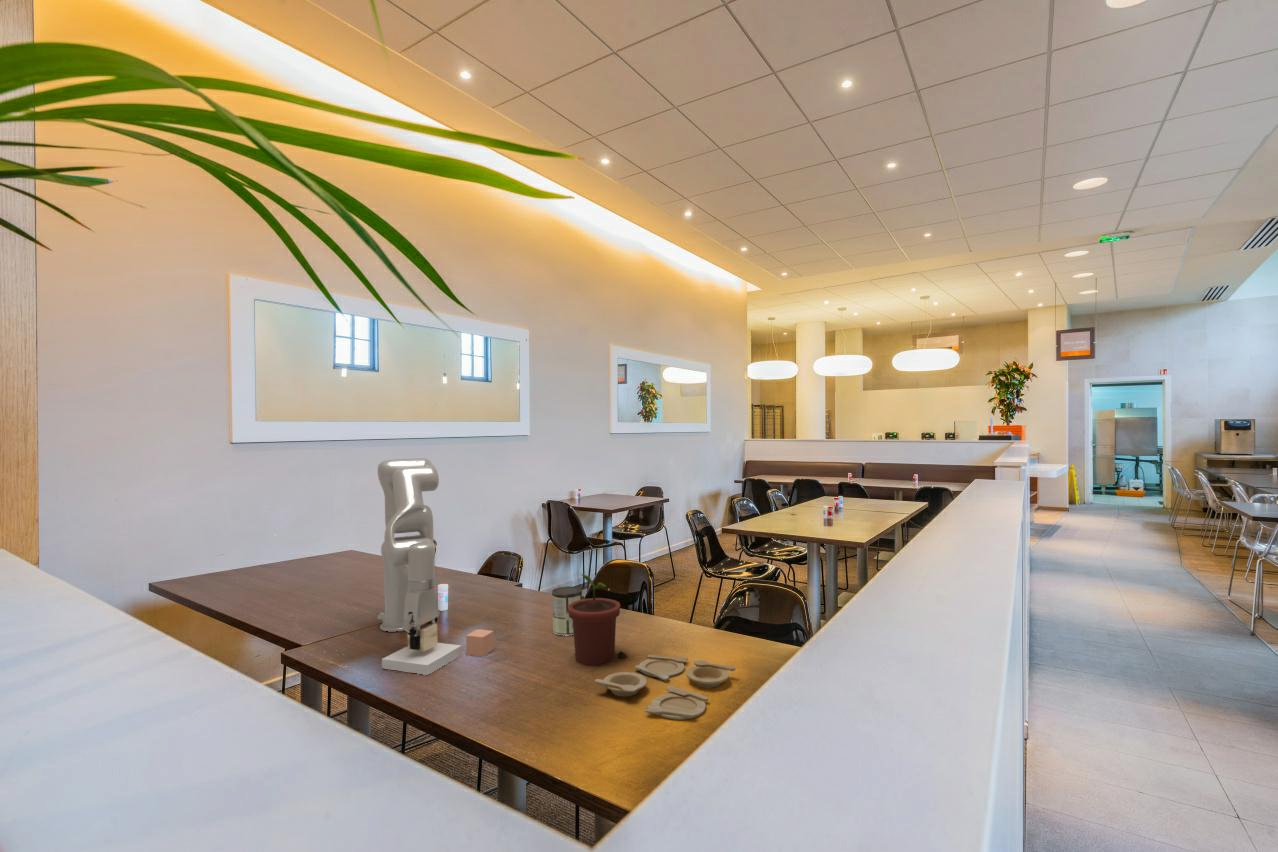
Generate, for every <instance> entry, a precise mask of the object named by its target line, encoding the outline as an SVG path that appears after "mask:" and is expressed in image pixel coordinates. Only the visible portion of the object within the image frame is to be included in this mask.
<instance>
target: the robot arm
mask: <svg viewBox="0 0 1278 852" xmlns="http://www.w3.org/2000/svg"><path fill="white" fill-rule="evenodd" d="M377 476H378V481H379V483H380V486H381V488H382V491H383V494H384V516H385V517H384V521H385V530H384V541H383V542H382V544H381V548H380V552H381V559H382V566H383V577H384V578H383V580H384V581H383V582H384V583H383V584H384V611H383V612H380V613H379V614H378V615H377V617H376V618H377V620H379V621H381V620H382V623H381V624H380V627H379V629H380V630H381V631H382V632H386V631H388V632H387V633H397V632H396V631H398V632H404V631H405V632H406V633H408V635H409V636H410V649H415V650H419V649H420V636H418V634H419V630H420V626H421V625H423V624H425V623H428V624H437V622H438V618H439V617H440V614H441V611H440V610H439V609H438V607H439V604H438V596H437V590H436V574H435V572H436V570H435V568H436V567H435V564H436V563H435V561H436V560H435V554H436V544H435V541H434V517H433V512H432V508H431V507H430V506H429V505H426V504H425V503H424V499H423V492H433V491H436V490H437V489H438V488H439V483H440V479H439V473H438V470H437V469H436V466H434V464H433V463H432V461H431V460H430V459H428V458H425V457H424V458H421V457H420V458H395V459H394V458H393V459H386V460H383V461H381V462H379V464H378V466H377ZM408 533H419V534H418V535H415V534H414V535H405V536H396V537H395V534H408ZM414 627H416V630H414ZM408 635H407V636H408Z"/></svg>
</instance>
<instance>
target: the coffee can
mask: <svg viewBox="0 0 1278 852" xmlns="http://www.w3.org/2000/svg"><path fill="white" fill-rule="evenodd" d="M551 596H552V600H551V601H552V634H553V633H555V634H558V635H563V636H562V637H573V636H572V635H574V631H573V619H571V618H570V617H569V612H568V605H569V604H570V603H572V602H575V601H578V600H582V599H583V589H582V588H581V587H578V586H560V587H556V588H554V589H552V590H551ZM555 634H554V635H555ZM564 635H565V636H564ZM569 635H571V636H569Z"/></svg>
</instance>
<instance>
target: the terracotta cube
mask: <svg viewBox="0 0 1278 852" xmlns="http://www.w3.org/2000/svg"><path fill="white" fill-rule="evenodd" d="M494 633H495V631H494V630H489V629H488V630H487V629H479V628H478V629H475V630H473V631H471V632H470V633H468V634H467V635H465V636H466V637H465V642H466V643H465V644H466V646H465V647H466V649H465V650H466V652H465V653H466V656H475V657H482V656H484V657H485V656H486V654H487V655H488V654H490V653H491V652H493V651H494V650H495V634H494ZM492 650H493V651H492ZM489 652H490V653H489Z"/></svg>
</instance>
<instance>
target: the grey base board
mask: <svg viewBox="0 0 1278 852" xmlns="http://www.w3.org/2000/svg"><path fill="white" fill-rule="evenodd" d="M462 647H463V645H461V644H460V645H459V644H452V643H443V642H438V644H437V645H435V646H433V647H432V648H430V649H428V650H426V651H418V650H410V649H408V645H407V646H404V647H402V648H401V649H398V650H397V651H395V652H392V653H391V654H389V655H387V656H385V657H383V658H381V669H382V668H385V669H391V670H398V671H404V672H412V673H417V674H416V675H419V674H423V675H422V676H426V675H428V674H430V673H431V674H433V673H435V672H436V671H438V670H439V668H440V669H441V668H443V667H445V666H446V665H448V664H450V663H451V662H453V661H455V660H456V659H458V658H460V657H461V656H462V653H463V651H462V650H463V649H462ZM449 662H450V663H449ZM444 665H445V666H444ZM442 666H443V667H442ZM437 669H438V670H437ZM435 670H436V671H435ZM434 671H435V672H434ZM404 672H403V673H404ZM432 672H433V673H432ZM431 674H430V675H431ZM428 676H429V675H428Z"/></svg>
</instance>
